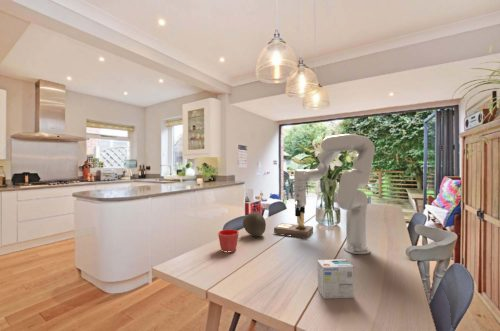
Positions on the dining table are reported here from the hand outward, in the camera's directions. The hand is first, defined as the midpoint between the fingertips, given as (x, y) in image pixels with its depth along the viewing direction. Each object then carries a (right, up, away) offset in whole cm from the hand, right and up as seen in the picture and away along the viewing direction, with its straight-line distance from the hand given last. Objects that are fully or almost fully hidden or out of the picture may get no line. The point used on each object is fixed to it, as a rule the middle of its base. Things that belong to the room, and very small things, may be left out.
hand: (300, 214), depth 152 cm
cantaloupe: (-30, -13, -3) cm, 33 cm away
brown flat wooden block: (-4, -13, +2) cm, 13 cm away
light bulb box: (-3, -13, -71) cm, 72 cm away
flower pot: (-44, -14, -27) cm, 53 cm away
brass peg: (+1, -13, -1) cm, 13 cm away
